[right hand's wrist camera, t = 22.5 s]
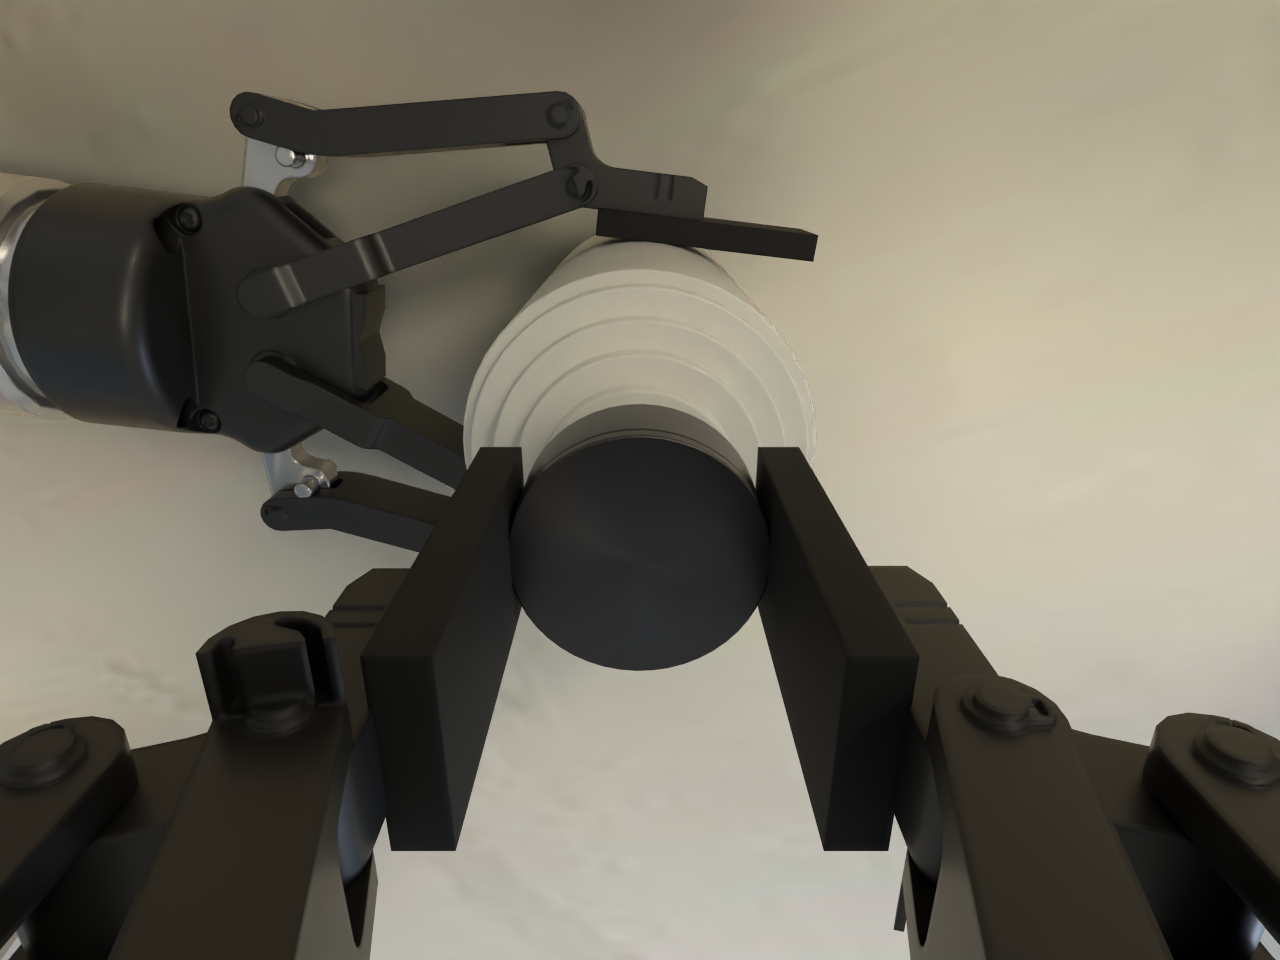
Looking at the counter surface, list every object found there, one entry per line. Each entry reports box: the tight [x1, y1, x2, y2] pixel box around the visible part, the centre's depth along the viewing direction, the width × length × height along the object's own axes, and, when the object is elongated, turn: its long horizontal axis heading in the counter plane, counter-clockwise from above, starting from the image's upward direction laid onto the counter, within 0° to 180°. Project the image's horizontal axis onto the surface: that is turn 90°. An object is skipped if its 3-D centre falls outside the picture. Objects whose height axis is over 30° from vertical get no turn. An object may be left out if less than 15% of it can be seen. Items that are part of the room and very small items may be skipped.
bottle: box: [463, 235, 816, 486], centre depth 22 cm, size 8×8×20 cm
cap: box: [509, 404, 770, 671], centre depth 14 cm, size 4×4×2 cm
